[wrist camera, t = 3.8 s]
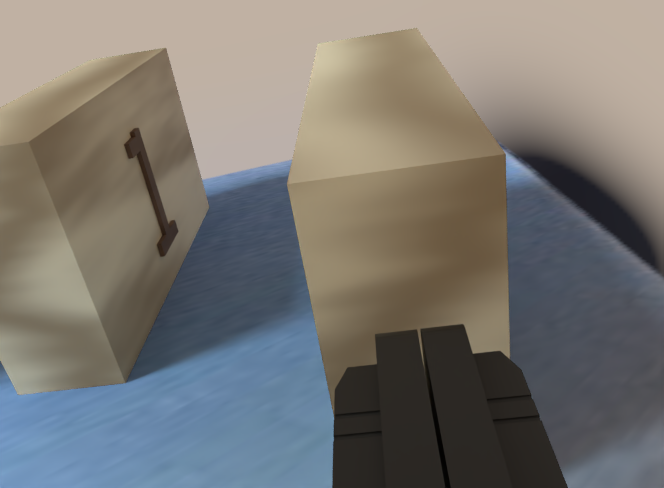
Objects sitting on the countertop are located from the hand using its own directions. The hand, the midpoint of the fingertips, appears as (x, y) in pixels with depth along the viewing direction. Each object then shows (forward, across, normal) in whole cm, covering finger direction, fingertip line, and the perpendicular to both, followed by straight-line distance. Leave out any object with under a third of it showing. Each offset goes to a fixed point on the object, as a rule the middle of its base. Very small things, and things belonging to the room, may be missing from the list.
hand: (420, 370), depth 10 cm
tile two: (+10, 0, +6) cm, 11 cm away
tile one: (+16, +12, +6) cm, 21 cm away
